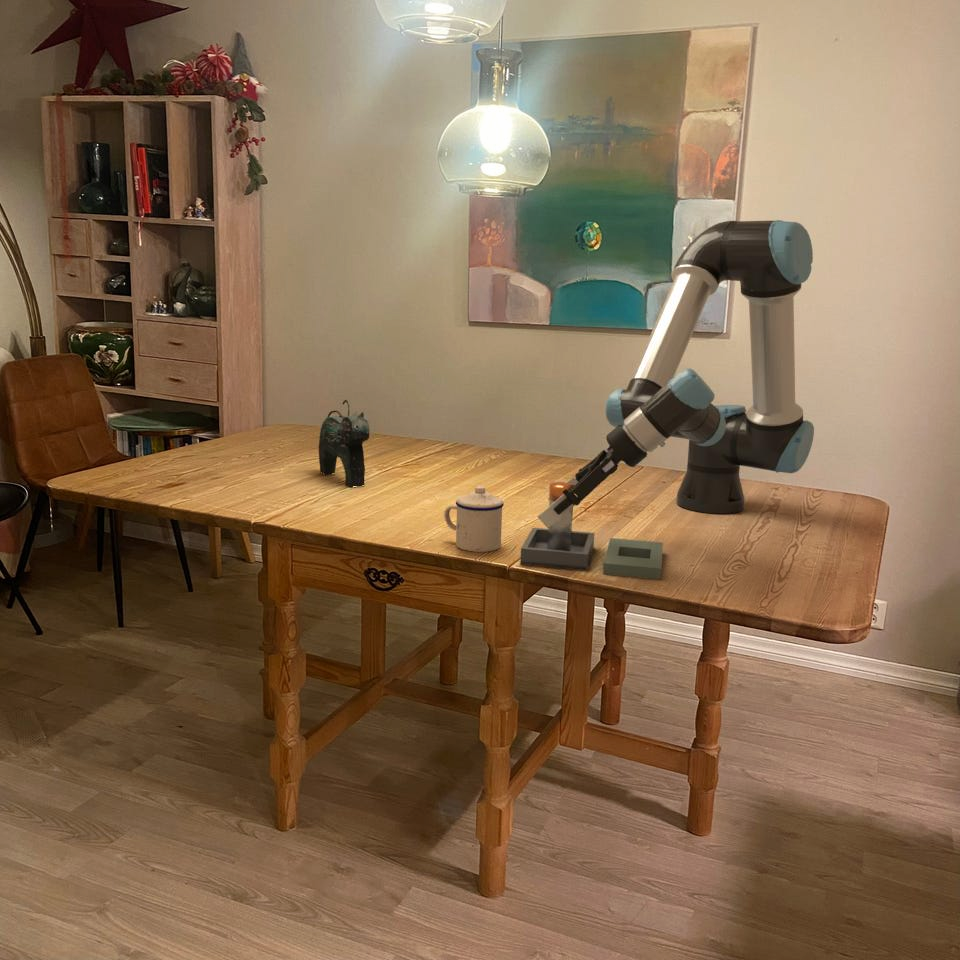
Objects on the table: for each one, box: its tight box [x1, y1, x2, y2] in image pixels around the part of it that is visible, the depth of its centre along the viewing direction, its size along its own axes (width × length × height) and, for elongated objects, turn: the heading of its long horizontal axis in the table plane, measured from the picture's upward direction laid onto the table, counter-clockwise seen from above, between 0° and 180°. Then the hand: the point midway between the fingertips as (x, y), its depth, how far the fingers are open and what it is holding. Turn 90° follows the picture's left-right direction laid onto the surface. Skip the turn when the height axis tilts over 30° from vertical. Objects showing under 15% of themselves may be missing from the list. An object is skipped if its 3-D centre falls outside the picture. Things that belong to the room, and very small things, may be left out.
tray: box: [519, 527, 595, 571], centre depth 174 cm, size 14×12×3 cm
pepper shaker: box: [547, 481, 575, 551], centre depth 172 cm, size 5×5×13 cm
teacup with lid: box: [443, 485, 505, 553], centre depth 178 cm, size 12×9×12 cm
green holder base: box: [602, 537, 664, 580], centre depth 171 cm, size 16×10×2 cm, turn 168°
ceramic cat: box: [318, 399, 370, 488], centre depth 225 cm, size 20×6×20 cm, turn 35°
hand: (547, 512), depth 173 cm, fingers open, 13 cm apart
